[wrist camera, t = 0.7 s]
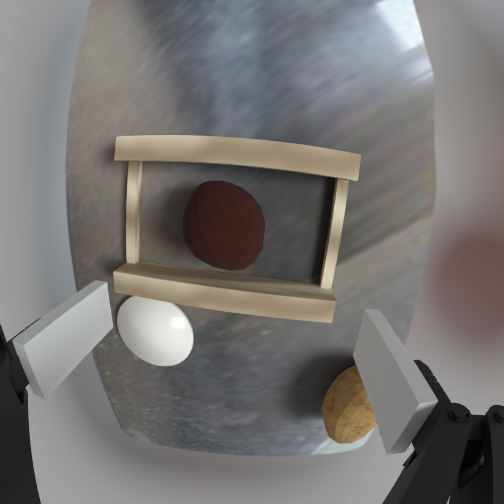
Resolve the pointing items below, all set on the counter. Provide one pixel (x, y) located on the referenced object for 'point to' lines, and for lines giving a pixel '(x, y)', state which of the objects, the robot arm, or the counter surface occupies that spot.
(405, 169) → the counter surface
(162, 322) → the plate
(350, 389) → the potato
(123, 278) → the cradle
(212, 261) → the dark brown rounded piece
